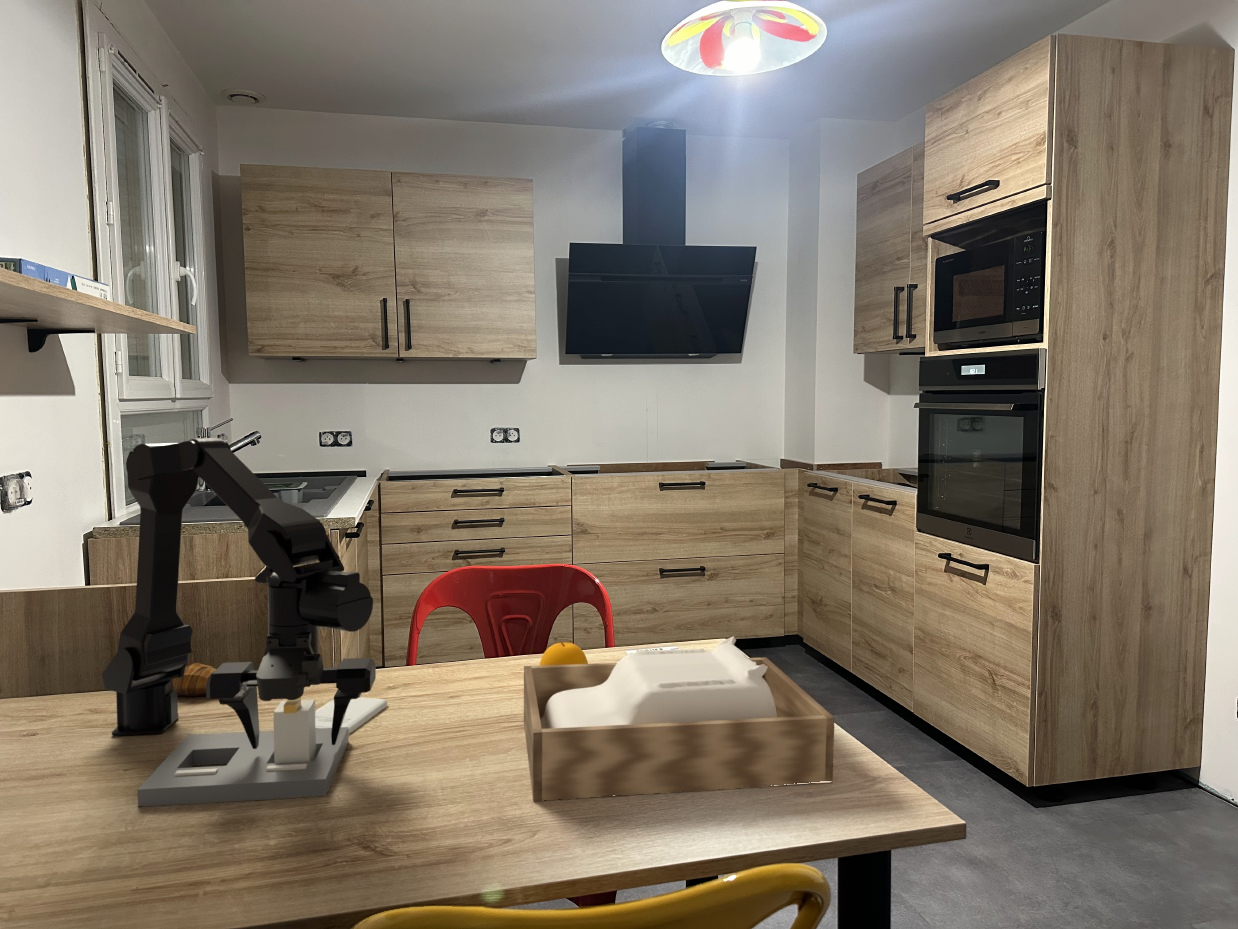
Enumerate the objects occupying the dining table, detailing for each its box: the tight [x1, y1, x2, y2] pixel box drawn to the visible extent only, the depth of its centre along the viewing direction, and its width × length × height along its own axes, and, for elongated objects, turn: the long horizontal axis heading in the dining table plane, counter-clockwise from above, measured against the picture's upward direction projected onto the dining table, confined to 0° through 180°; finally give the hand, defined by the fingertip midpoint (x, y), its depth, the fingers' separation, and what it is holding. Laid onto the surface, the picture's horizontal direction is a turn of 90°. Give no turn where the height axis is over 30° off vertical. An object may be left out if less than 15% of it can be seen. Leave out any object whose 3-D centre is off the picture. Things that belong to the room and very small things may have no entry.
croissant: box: [173, 662, 217, 697], centre depth 130 cm, size 14×7×5 cm, turn 93°
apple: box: [539, 642, 589, 666], centre depth 134 cm, size 8×8×8 cm
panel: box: [137, 727, 349, 807], centre depth 102 cm, size 20×16×2 cm
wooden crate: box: [523, 657, 836, 802], centre depth 110 cm, size 36×25×8 cm
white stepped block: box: [540, 635, 777, 729], centre depth 109 cm, size 19×30×13 cm, turn 100°
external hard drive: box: [315, 696, 388, 735], centre depth 120 cm, size 2×8×12 cm
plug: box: [273, 696, 316, 763], centre depth 102 cm, size 4×5×9 cm
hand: (295, 745), depth 103 cm, fingers open, 9 cm apart
